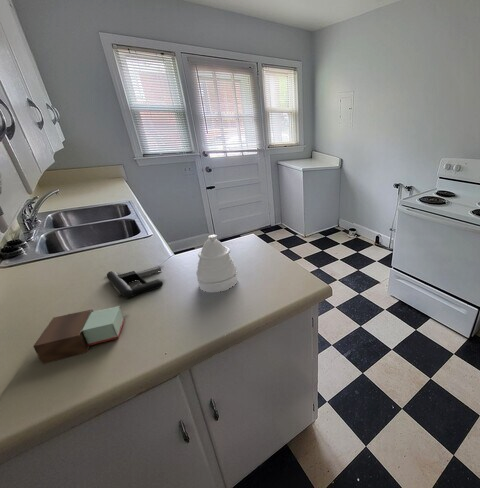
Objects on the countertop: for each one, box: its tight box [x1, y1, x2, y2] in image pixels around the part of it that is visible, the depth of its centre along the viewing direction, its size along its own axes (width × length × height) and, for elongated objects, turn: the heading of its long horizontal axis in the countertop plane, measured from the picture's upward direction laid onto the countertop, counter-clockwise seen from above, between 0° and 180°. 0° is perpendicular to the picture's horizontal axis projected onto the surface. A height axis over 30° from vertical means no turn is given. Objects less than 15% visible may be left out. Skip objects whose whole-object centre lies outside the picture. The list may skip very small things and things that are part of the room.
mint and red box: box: [82, 305, 125, 347], centre depth 69 cm, size 6×8×5 cm
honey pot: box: [195, 234, 239, 293], centre depth 91 cm, size 13×13×18 cm
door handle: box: [105, 265, 164, 299], centre depth 94 cm, size 3×20×16 cm
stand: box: [33, 309, 94, 364], centre depth 66 cm, size 8×11×5 cm
